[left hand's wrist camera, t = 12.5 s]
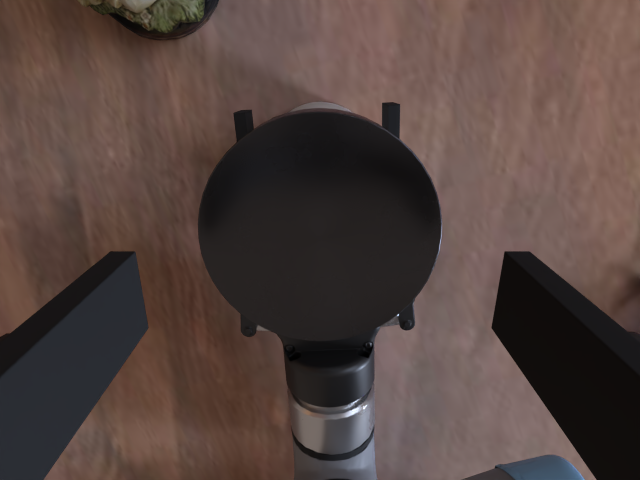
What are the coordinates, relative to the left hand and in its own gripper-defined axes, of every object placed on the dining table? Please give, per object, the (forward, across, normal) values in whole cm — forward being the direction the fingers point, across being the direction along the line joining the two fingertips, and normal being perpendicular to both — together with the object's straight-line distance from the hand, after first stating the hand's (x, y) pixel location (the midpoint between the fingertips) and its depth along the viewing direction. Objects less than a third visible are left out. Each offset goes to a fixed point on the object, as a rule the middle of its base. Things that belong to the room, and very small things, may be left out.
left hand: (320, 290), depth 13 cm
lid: (+5, 0, 0) cm, 5 cm away
